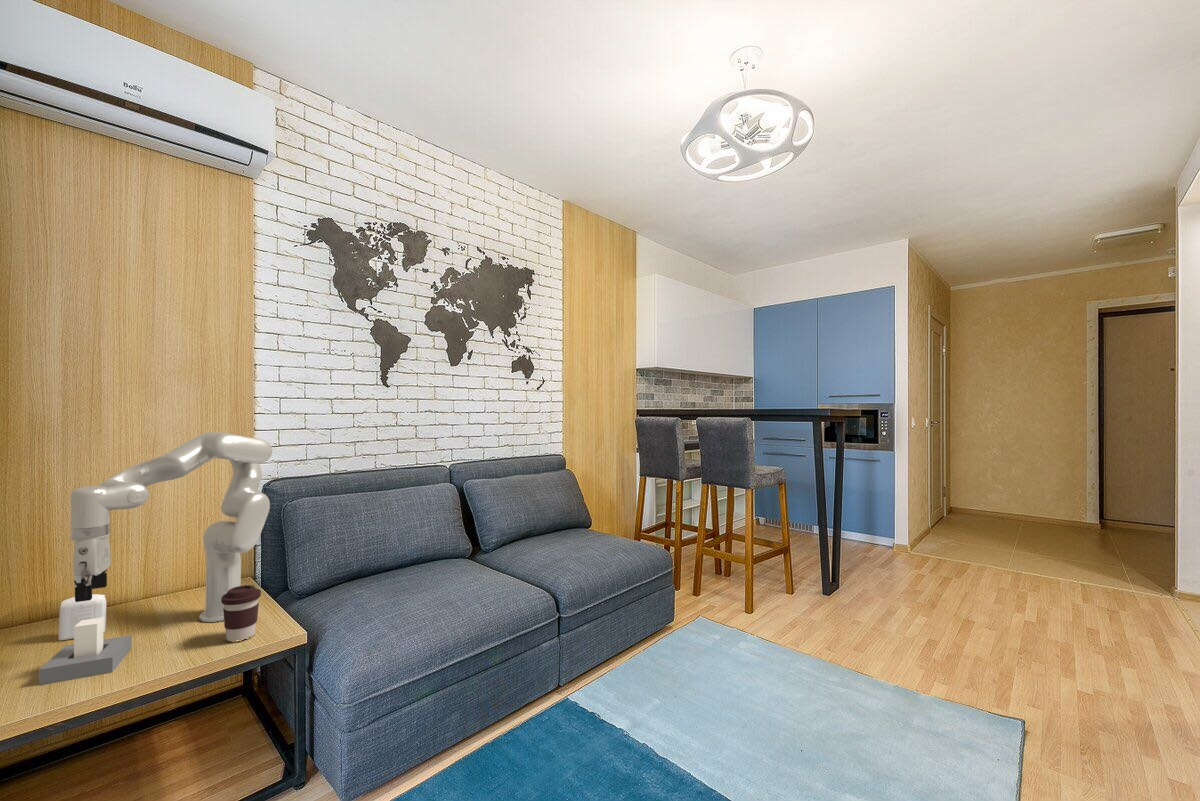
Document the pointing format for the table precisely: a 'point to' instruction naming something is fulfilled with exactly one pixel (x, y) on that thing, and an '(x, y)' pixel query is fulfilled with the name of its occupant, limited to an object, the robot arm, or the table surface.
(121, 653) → the socket box
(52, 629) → the table surface
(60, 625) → the photo printer
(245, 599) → the coffee cup
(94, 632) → the plug
